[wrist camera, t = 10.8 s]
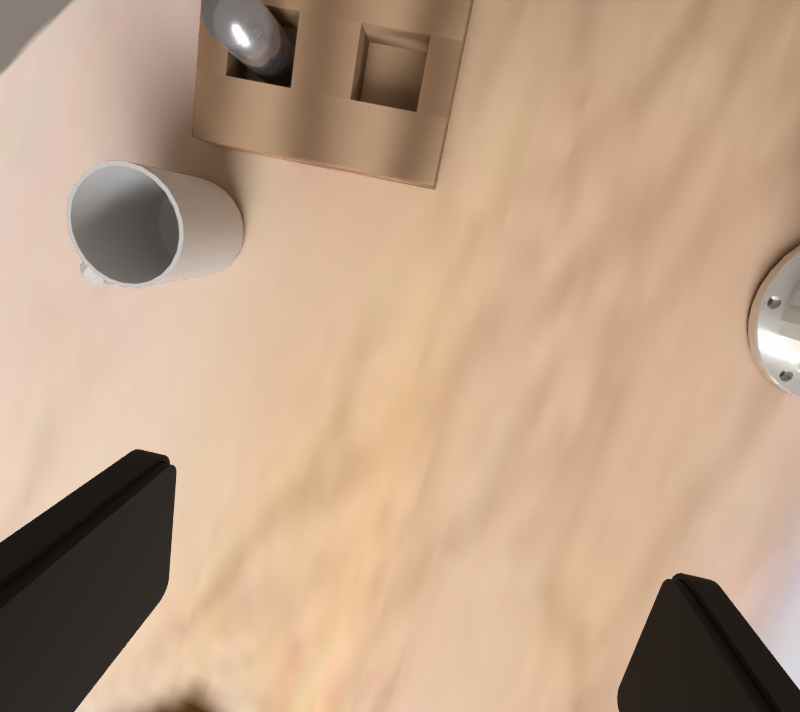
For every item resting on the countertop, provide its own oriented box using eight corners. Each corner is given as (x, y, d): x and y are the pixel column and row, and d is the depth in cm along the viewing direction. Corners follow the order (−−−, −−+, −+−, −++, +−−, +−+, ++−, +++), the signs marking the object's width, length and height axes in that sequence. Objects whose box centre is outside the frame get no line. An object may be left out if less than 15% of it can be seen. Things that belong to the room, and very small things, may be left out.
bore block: (473, -3, 31) (477, -37, 27) (434, 189, 34) (433, 184, 30) (236, -46, 31) (207, -85, 27) (220, 147, 34) (192, 136, 31)
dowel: (303, 36, 31) (261, -21, 24) (298, 90, 32) (257, 48, 25) (256, 31, 31) (202, -27, 25) (253, 84, 32) (200, 42, 25)
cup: (265, 240, 36) (208, 243, 27) (171, 312, 38) (91, 335, 30) (206, 157, 35) (127, 133, 26) (113, 236, 37) (12, 237, 28)
